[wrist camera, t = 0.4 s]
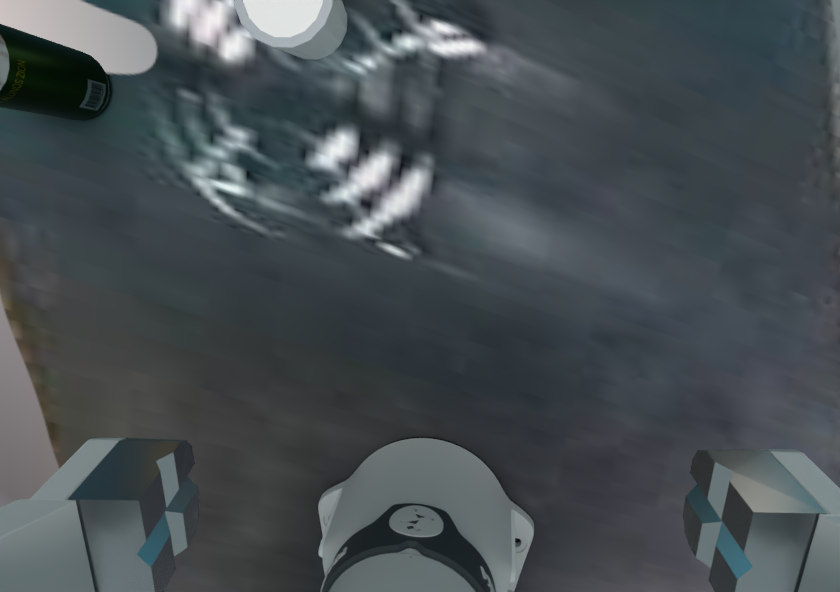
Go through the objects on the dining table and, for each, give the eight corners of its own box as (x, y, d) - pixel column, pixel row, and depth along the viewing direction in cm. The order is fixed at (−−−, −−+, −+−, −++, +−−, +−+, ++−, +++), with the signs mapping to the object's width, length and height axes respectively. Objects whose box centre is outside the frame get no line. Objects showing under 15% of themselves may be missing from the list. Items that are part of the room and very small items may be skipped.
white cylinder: (364, -15, 45) (343, -51, 39) (344, 77, 47) (320, 58, 40) (278, -35, 46) (242, -75, 39) (261, 57, 47) (223, 34, 40)
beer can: (118, 61, 48) (0, 20, 37) (109, 128, 49) (-8, 108, 38) (56, 46, 49) (-80, 0, 37) (48, 113, 50) (-86, 89, 38)
